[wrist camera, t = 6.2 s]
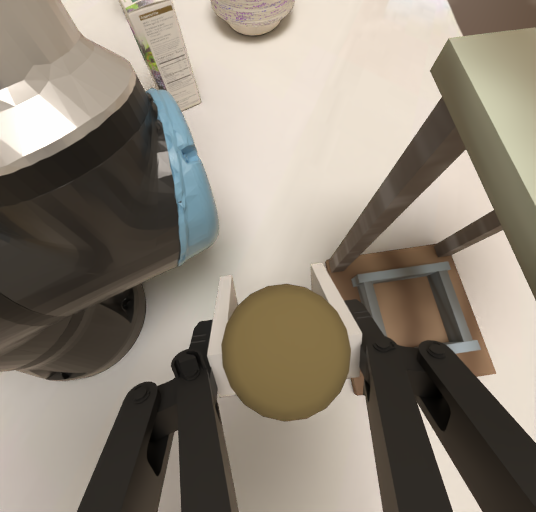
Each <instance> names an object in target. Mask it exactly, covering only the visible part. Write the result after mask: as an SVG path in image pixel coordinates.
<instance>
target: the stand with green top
mask: <svg viewBox="0 0 536 512" xmlns="http://www.w3.org/2000/svg"><path fill="white" fill-rule="evenodd" d="M430 72H431V74H432V76H433V78H434V80H435V82H436V85H437V87H438V89H439V91H440V93H441V95H442V98H441V99H440V101H439V102H438V103H437V105H436V106H435V108H434V109H433V111H432V112H431V114H430V115H429V116H428V118H427V119H426V121H425V122H424V124H423V125H422V127H421V128H420V130H419V131H418V132H417V134H416V135H415V137H414V138H413V140H412V141H411V143H410V144H409V145H408V147H407V148H406V150H405V151H404V153H403V154H402V156H401V157H400V159H399V160H398V161H397V163H396V164H395V166H394V167H393V169H392V170H391V172H390V173H389V174H388V176H387V177H386V179H385V180H384V182H383V183H382V185H381V186H380V188H379V189H378V190H377V192H376V193H375V195H374V196H373V198H372V199H371V201H370V202H369V203H368V205H367V206H366V208H365V209H364V211H363V212H362V214H361V215H360V217H359V218H358V219H357V221H356V222H355V224H354V225H353V227H352V228H351V230H350V231H349V232H348V234H347V235H346V237H345V238H344V240H343V241H342V243H341V244H340V245H339V247H338V248H337V250H336V251H335V253H334V254H333V256H332V257H331V259H329V260H326V262H325V263H326V268H327V272H328V274H329V276H330V277H331V279H332V281H333V283H334V284H335V286H336V288H337V290H338V292H339V293H340V295H341V297H342V299H343V300H344V301H345V300H353V299H357V300H358V301H360V302H361V303H362V304H364V306H365V307H366V309H367V310H368V312H369V313H370V315H371V317H372V318H373V319H374V321H375V322H376V324H377V325H378V327H379V328H380V330H381V331H382V333H383V334H384V336H386V337H388V338H391V339H392V340H393V341H395V342H396V344H397V345H400V346H405V347H414V348H418V347H419V344H420V343H421V342H423V341H426V340H434V341H438V342H441V343H443V344H445V345H447V346H448V347H449V348H450V349H452V350H453V351H454V353H455V354H456V355H457V356H458V357H459V358H460V359H461V360H462V362H463V363H464V364H465V365H466V366H467V367H468V368H469V369H470V370H471V372H472V373H473V374H474V375H475V376H476V377H478V376H484V375H490V374H496V371H495V369H494V366H493V363H492V361H491V358H490V356H489V353H488V350H487V348H486V345H485V342H484V340H483V337H482V334H481V332H480V329H479V327H478V324H477V321H476V319H475V316H474V313H473V311H472V308H471V306H470V303H469V300H468V298H467V295H466V292H465V290H464V287H463V285H462V282H461V279H460V277H459V274H458V271H457V269H456V266H455V264H454V261H453V258H452V256H451V255H452V254H454V253H456V252H458V251H460V250H462V249H464V248H467V247H469V246H471V245H473V244H475V243H477V242H479V241H481V240H483V239H485V238H487V237H489V236H491V235H493V234H495V233H498V232H500V231H502V230H504V232H505V235H506V237H507V239H508V241H509V243H510V245H511V248H512V250H513V252H514V254H515V256H516V258H517V261H518V263H519V265H520V267H521V269H522V271H523V274H524V276H525V278H526V280H527V282H528V284H529V287H530V289H531V291H532V293H533V295H534V298H535V300H536V27H535V28H527V29H519V30H511V31H503V32H495V33H487V34H479V35H471V36H463V37H455V38H449V39H448V40H447V42H446V44H445V46H444V47H443V49H442V51H441V53H440V54H439V56H438V58H437V59H436V61H435V63H434V65H433V66H432V68H431V70H430ZM465 150H467V152H468V154H469V156H470V158H471V161H472V163H473V165H474V167H475V169H476V171H477V174H478V176H479V178H480V180H481V182H482V185H483V187H484V189H485V191H486V193H487V195H488V198H489V200H490V202H491V204H492V206H493V208H494V210H493V211H492V212H490V213H488V214H486V215H485V216H483V217H481V218H480V219H478V220H476V221H475V222H473V223H471V224H470V225H468V226H466V227H465V228H463V229H461V230H460V231H458V232H456V233H454V234H453V235H451V236H449V237H448V238H446V239H444V240H443V241H441V242H439V243H438V244H433V245H426V246H419V247H412V248H405V249H398V250H391V251H384V252H377V253H370V254H363V255H360V254H361V253H362V252H363V251H364V250H365V249H366V248H367V247H368V246H369V245H370V244H371V243H372V242H373V241H374V240H375V239H376V238H377V237H378V236H379V235H380V234H381V233H382V232H383V231H384V230H385V229H386V228H387V227H388V226H389V225H390V224H391V223H392V222H393V221H394V220H395V219H396V218H397V217H398V216H399V215H400V214H401V213H402V212H403V211H404V210H405V209H406V208H407V207H408V206H409V205H410V204H411V203H412V202H413V201H414V200H415V199H416V198H417V197H418V196H419V195H420V194H421V193H422V192H423V191H424V190H425V189H426V188H427V187H429V186H430V185H431V184H432V183H433V182H434V181H435V180H436V179H437V178H438V177H439V176H440V175H441V174H442V173H443V172H444V171H445V170H446V169H447V168H448V167H449V166H450V165H451V164H452V163H453V162H454V161H455V160H456V159H457V158H458V157H459V156H460V155H461V154H462V153H463V152H464V151H465ZM351 381H352V386H353V390H354V394H356V395H363V385H364V376H363V374H362V372H361V370H360V376H359V377H355V378H351Z"/></svg>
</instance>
